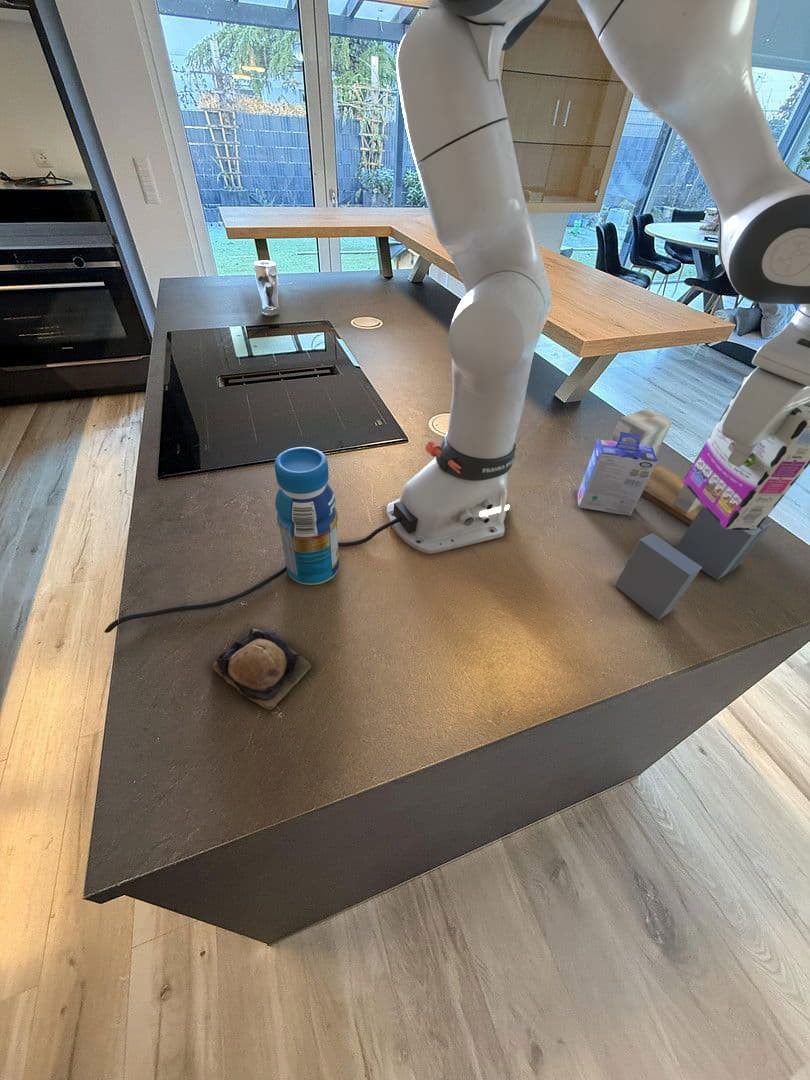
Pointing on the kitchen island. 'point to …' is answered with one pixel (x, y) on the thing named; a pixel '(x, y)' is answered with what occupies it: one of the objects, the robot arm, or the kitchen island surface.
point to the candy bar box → (750, 472)
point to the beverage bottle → (307, 515)
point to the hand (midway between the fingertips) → (751, 455)
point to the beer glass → (267, 284)
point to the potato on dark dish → (261, 667)
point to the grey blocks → (683, 562)
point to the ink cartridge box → (616, 475)
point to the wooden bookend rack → (662, 482)
